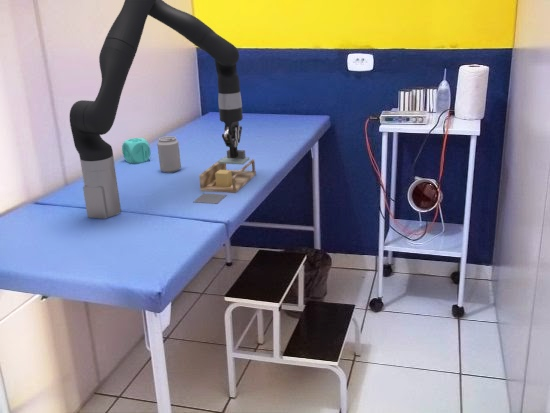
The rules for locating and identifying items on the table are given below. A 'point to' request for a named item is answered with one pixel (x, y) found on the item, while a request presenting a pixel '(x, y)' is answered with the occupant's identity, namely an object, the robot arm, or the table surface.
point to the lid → (238, 160)
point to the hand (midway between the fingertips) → (234, 157)
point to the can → (169, 154)
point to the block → (223, 178)
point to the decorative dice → (136, 150)
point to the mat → (210, 198)
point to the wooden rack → (237, 178)
